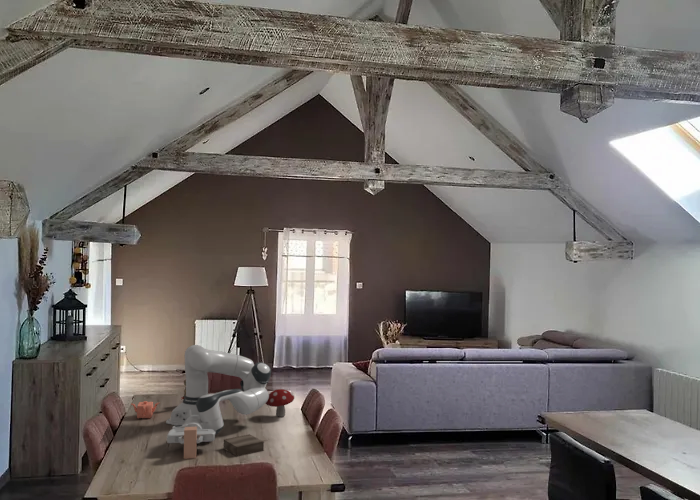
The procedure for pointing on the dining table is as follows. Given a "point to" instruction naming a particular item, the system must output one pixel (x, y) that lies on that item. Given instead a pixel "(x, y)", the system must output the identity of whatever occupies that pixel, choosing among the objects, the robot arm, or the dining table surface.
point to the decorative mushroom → (280, 400)
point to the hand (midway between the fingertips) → (190, 441)
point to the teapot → (145, 409)
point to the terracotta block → (190, 442)
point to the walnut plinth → (243, 445)
